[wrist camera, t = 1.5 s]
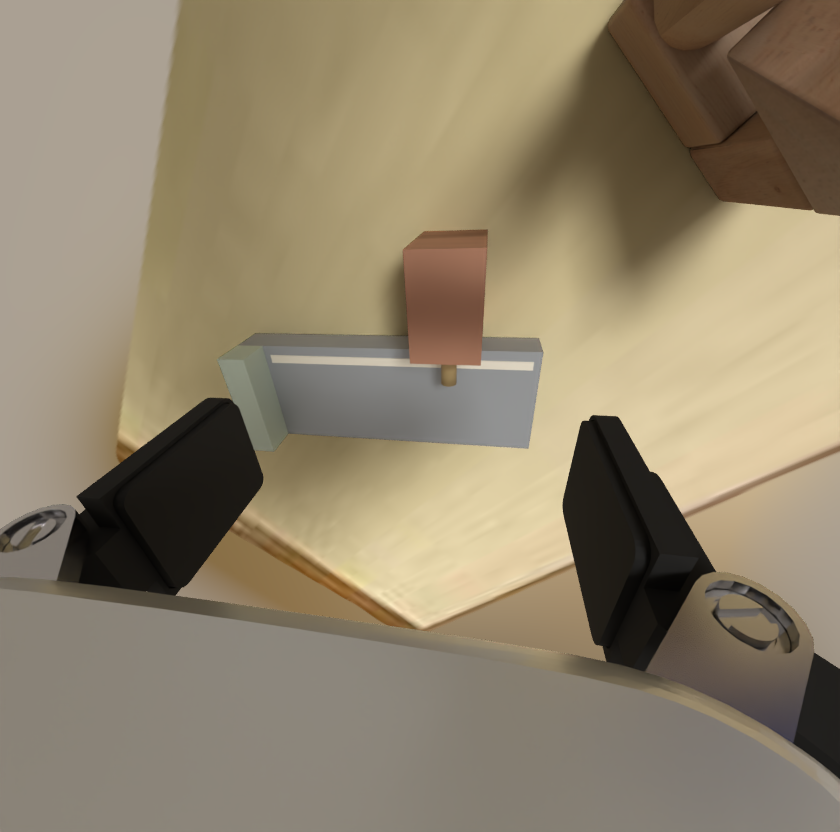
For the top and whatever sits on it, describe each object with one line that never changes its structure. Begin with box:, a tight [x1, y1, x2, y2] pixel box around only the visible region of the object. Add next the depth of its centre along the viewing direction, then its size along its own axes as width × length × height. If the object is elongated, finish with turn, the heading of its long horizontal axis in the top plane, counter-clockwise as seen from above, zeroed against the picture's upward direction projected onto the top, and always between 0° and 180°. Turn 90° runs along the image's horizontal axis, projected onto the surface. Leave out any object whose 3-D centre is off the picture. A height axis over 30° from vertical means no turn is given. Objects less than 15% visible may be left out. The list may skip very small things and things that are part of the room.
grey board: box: [217, 333, 543, 452], centre depth 28 cm, size 8×22×5 cm, turn 92°
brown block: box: [403, 230, 488, 387], centre depth 22 cm, size 8×4×7 cm, turn 2°
